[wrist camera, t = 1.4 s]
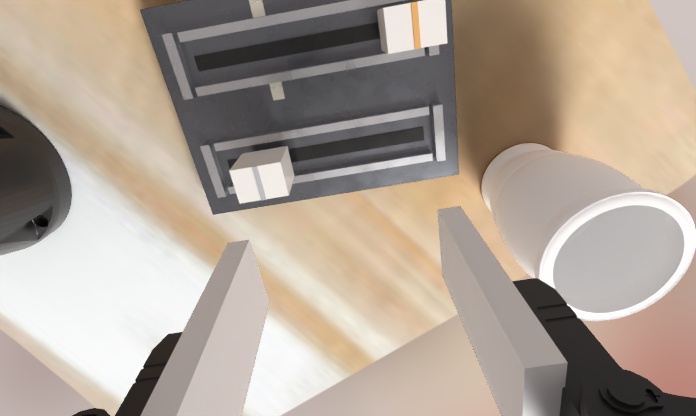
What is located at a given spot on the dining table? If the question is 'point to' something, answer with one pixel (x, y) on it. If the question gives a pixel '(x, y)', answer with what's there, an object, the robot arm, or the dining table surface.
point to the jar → (588, 230)
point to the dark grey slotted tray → (305, 94)
